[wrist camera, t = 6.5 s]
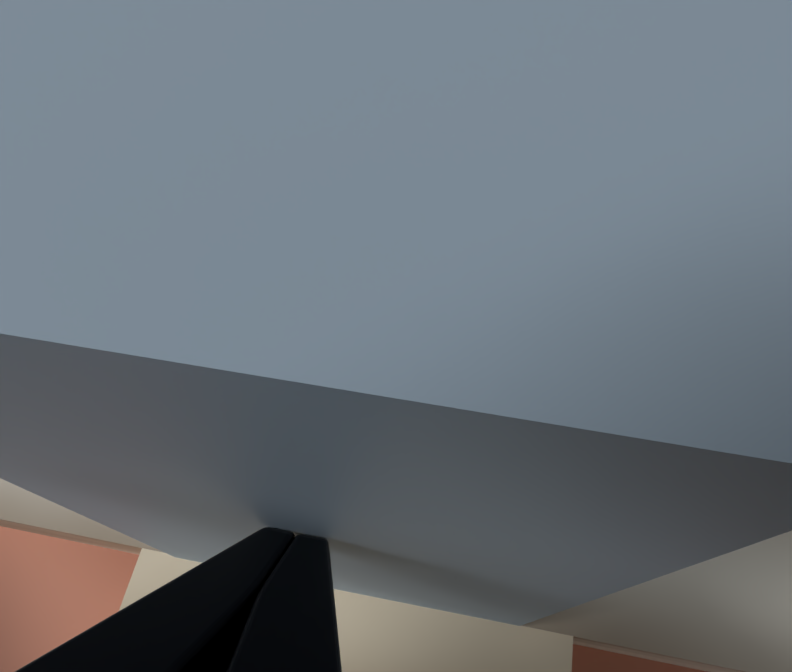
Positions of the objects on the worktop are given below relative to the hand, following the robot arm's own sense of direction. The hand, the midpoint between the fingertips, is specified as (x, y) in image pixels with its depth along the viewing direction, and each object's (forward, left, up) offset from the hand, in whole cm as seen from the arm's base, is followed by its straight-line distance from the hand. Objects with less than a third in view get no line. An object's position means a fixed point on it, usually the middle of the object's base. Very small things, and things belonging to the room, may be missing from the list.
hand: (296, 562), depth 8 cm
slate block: (+4, 0, -7) cm, 8 cm away
